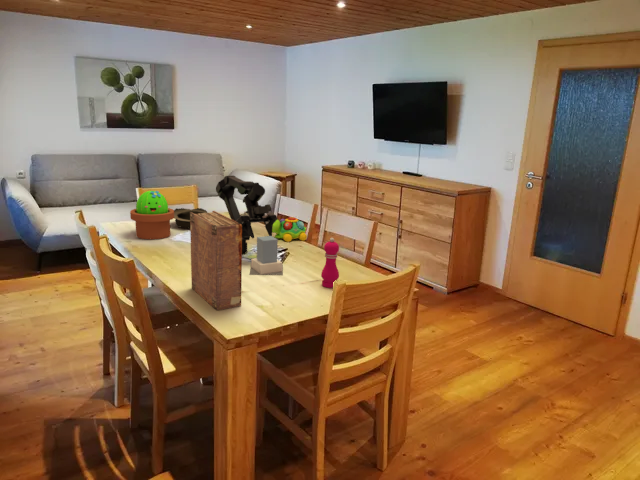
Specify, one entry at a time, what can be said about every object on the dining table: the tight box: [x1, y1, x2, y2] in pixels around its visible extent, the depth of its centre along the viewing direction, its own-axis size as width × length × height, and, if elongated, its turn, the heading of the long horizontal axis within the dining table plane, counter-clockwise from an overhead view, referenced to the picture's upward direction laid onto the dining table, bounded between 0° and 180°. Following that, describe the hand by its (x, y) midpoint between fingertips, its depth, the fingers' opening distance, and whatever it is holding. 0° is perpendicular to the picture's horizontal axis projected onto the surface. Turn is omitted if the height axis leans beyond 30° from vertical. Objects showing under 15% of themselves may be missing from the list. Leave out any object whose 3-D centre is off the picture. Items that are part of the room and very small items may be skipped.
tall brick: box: [256, 235, 279, 264], centre depth 208 cm, size 7×7×10 cm
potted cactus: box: [129, 190, 175, 240], centre depth 257 cm, size 22×22×25 cm
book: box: [189, 210, 243, 311], centre depth 176 cm, size 25×9×30 cm, turn 34°
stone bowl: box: [173, 207, 208, 230], centre depth 284 cm, size 25×25×9 cm
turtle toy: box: [272, 216, 308, 243], centre depth 266 cm, size 17×23×12 cm
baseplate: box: [248, 264, 284, 276], centre depth 210 cm, size 14×15×1 cm
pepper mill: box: [320, 237, 340, 289], centre depth 195 cm, size 7×7×20 cm
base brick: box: [250, 257, 283, 274], centre depth 209 cm, size 10×10×4 cm
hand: (262, 237), depth 215 cm, fingers open, 9 cm apart
